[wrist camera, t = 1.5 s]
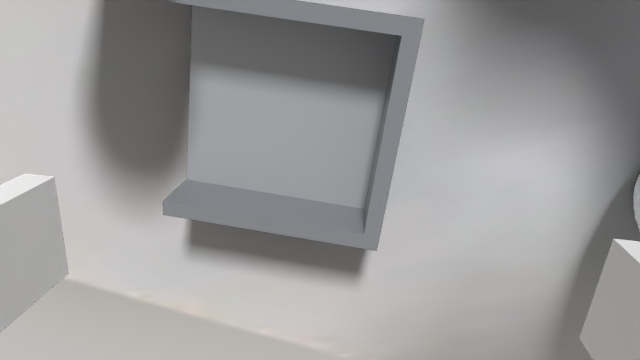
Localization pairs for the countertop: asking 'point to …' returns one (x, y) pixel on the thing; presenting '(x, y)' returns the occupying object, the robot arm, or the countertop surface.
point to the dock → (295, 117)
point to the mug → (637, 201)
